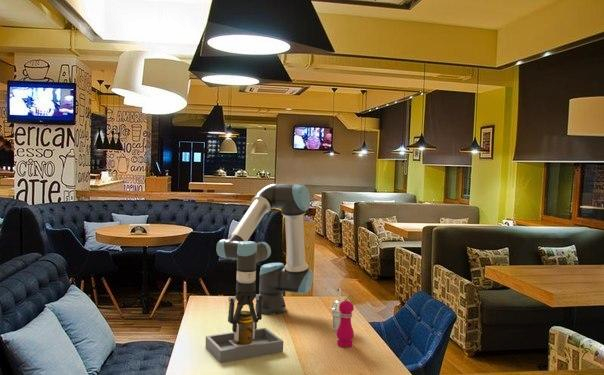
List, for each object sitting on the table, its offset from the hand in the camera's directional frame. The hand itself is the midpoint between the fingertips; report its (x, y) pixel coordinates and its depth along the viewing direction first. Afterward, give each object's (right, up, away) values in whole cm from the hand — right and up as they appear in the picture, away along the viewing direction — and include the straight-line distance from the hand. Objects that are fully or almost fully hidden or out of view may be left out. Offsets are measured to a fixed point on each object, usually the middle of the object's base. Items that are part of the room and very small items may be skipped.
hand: (244, 338), depth 206 cm
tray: (0, -4, 0) cm, 4 cm away
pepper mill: (+40, -6, +9) cm, 42 cm away
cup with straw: (+39, -4, +27) cm, 47 cm away
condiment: (-1, -2, 0) cm, 2 cm away
